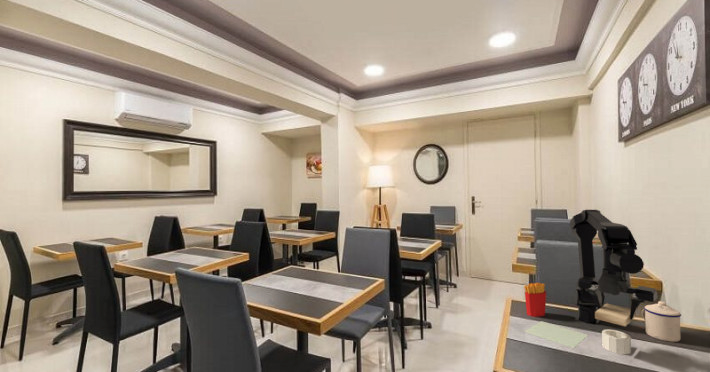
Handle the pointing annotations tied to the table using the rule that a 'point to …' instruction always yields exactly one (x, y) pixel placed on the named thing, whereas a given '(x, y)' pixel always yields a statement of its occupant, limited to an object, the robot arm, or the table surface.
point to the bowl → (616, 341)
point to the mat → (556, 334)
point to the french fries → (535, 299)
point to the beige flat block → (614, 314)
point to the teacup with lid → (662, 322)
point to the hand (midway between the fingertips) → (615, 315)
